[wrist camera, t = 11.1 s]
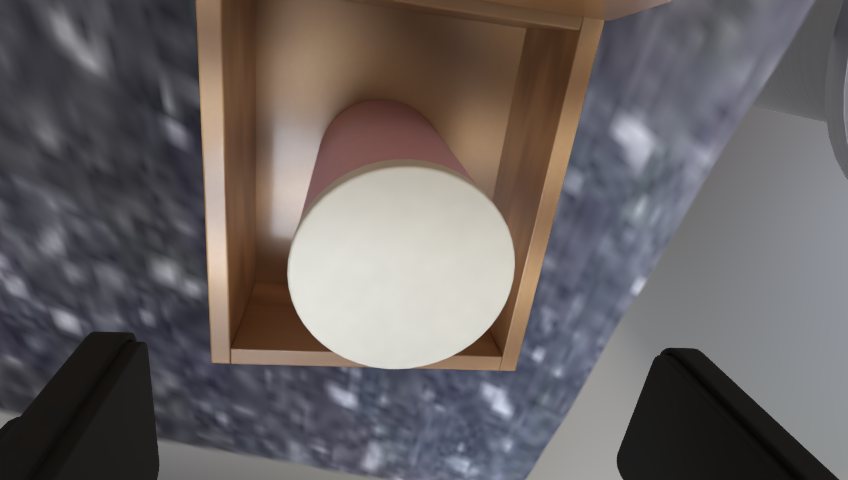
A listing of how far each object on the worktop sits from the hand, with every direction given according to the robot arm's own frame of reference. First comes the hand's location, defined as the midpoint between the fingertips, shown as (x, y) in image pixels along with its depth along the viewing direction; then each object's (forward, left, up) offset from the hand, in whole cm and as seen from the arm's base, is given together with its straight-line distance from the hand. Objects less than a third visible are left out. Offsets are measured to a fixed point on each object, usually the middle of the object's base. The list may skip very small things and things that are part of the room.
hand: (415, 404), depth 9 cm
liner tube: (0, 0, -17) cm, 17 cm away
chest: (0, 0, -18) cm, 18 cm away
